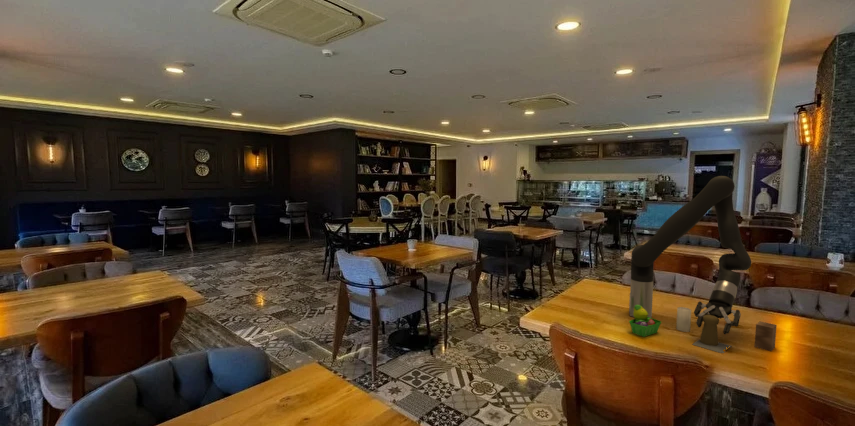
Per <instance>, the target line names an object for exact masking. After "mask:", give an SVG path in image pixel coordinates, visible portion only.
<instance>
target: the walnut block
mask: <svg viewBox="0 0 855 426" xmlns="http://www.w3.org/2000/svg"><path fill="white" fill-rule="evenodd" d="M754 336H755V337H754V348H757V347H758V348H757V349H760V348H761V350H764V349H765V351H769V352H772V351H773V350H774V349H775V348H776V337H777V324H774V323H770V322H766V321H758V322H757V323H756V324H755V334H754Z"/></svg>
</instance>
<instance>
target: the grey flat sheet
mask: <svg viewBox="0 0 855 426" xmlns="http://www.w3.org/2000/svg"><path fill="white" fill-rule="evenodd" d="M691 345H693V346H695V347H699V348H702V349H706V350H709V351H712V352H716V353H720V354H722V353H723V354H724V353H725V352H724V351H723V350H724V349H725V350H726V347H727V348H728V347H729V346H730V348H732V345H731V344H727V343H723V342H719V341H718V345H717V346H711V345H706V344H704V343H702V342H700V338H699V339H697V340H696V341H694V342H693V343H692V344H691Z"/></svg>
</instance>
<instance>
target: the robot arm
mask: <svg viewBox="0 0 855 426" xmlns="http://www.w3.org/2000/svg"><path fill="white" fill-rule="evenodd" d="M734 190H735V183H734V180H733V179H732V178H730V177H729V176H726V175H718V176H714V177H712V178H711V179H710V180H709V181H708V183H707V184H706V185H705V186H704V187H703V188H702V190H701V191H700V192H699V193H698V194H696V196H695V197H694V198H692V199H691V200H690V201H688V202H687V203H685V204H684V205H683V206H682V207H680V208H679V209H677V210H676V211H675V212H674V213H673V214H672V215H671V216H669V217H668V219H666V220H665V221H664V223H663V224H661V226H660V228H659V229H658V230H657V231H656V233H655V234H654V235H653V236H652V237H651V238H650V239H648V240H647V241H646V242H645V243H644V244H639V245H636V246H635V247H633V248H632V251H631V261H630V262H631V264H630V289H629V290H630V293H629V304H628V307H629V308H628V313H629V316H630V317H633V318H635V317H634V315H633V312H634V306H635V305H640V306H642V307H643V308H644V309H645V310H646V311H647V313H648V316H647V317H650V318H653V316H652V315H653V299H654V298H653V296H654V295H653V294H654V266H655V265H654V262H655V261H656V260H658V258H659V257H660V256H661V255H662V254H663V252H665V251H666V249H668V248H670V246H672V245H673V244H675V243H676V242H677V241H678V240H680V239H681V238H682V237H683V236H684V235H686V234H687V233H688V232H690V230H692V228H694V227H695V226H696V225H697V224H699V222H700V221H701V220H702V219H703V217H705V215H706V213H708V212H709V211H710V210H711V209H712V208H714V211H715V216H716V223H717V224H716V225H717V229H718V235H719V240H720V241H719V242H720V246H721V247H722V248H724V249H731V250H732V251H733V252H734V253H724V254H722V255H721V256H720V257H719V258H718V277H717V280H716V282H715V284H714V286H713V287H712V288H713V289H712V292H711V294H710V296H709V300H708V302H707V303H703V302H702V301H698V302H697V304H696V306H695V309H694V311H693V314H694V317H696V318H697V319H696V322H695V323H696V324H695V325H696V326H697V327H698V328H702V324H703V323H704V322H703V316H704V315H707V314H709V315H714V316H716V317H718V319H719V320H720V319H721V320H722V319H724V321H725V324H724V326H723V327H724V328H723V330H722V333H723V334H724V335H727V334H730V332H731V328H732V327H739V323H740V319H741V315H742V314H741V311H740V310H739V309H736V310H735V309H734V310H733V305H734V302H735V299H736V298H737V293H738V288H739V285H740V282H741V276H740V274H739V273H737V272H736V271H747V270H749V269H750V268H751V266H752V259H751V257H750V255H749V252H748V251H747V250H746V247H745V245H744V244H743V242H742V241H743V240H742V236H741V232H740V227H739V223H738V220H737V216H736V213H735V209H734V204H733V203H734V201H733V194H734V193H733V192H734ZM704 308H706V309H704ZM703 309H704V310H703ZM702 310H703V311H702ZM730 315H733V316H734V317H733V321H732V320H730V318H729V316H730Z"/></svg>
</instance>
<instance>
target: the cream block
mask: <svg viewBox="0 0 855 426" xmlns="http://www.w3.org/2000/svg"><path fill="white" fill-rule="evenodd" d="M676 310H677V311H676V324H675V325H676V328H675V329H676V330H677V331H679V332H685V333H686V332H687V333H688V332H689V333H690V332H691V323H692V322H691V320H692V309H690V308H689V307H686V306H685V307H683V306H679V307H677V308H676Z"/></svg>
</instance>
